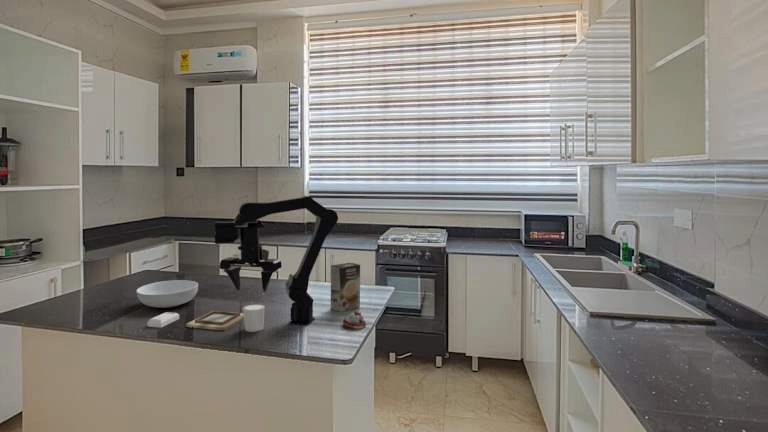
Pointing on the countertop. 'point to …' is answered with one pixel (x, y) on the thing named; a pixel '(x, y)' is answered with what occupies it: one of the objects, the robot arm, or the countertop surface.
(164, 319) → the soap bar
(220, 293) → the countertop surface
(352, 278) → the coffee box
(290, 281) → the robot arm
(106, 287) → the countertop surface
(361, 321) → the pastry
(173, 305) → the serving bowl
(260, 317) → the white tapered cylinder
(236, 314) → the board
